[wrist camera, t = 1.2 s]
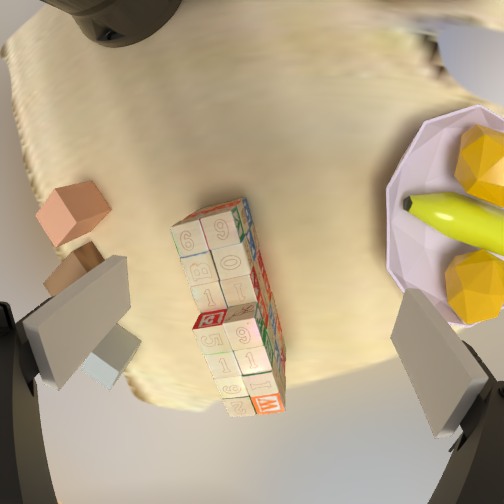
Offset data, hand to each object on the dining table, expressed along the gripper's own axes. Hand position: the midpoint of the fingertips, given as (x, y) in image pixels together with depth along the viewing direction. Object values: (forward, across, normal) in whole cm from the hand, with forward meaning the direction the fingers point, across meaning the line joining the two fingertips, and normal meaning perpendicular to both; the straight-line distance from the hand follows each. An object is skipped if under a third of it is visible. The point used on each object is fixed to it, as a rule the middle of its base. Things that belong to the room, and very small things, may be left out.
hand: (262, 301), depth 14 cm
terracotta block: (+23, -25, -2) cm, 34 cm away
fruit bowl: (+23, +25, +2) cm, 34 cm away
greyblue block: (+23, -21, -22) cm, 38 cm away
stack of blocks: (+23, -3, -10) cm, 25 cm away
